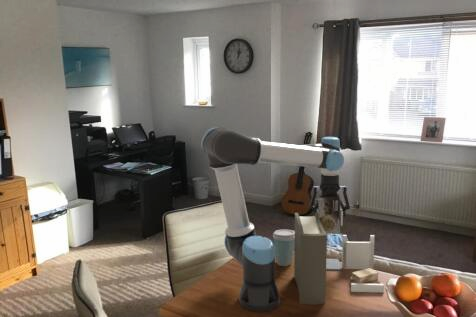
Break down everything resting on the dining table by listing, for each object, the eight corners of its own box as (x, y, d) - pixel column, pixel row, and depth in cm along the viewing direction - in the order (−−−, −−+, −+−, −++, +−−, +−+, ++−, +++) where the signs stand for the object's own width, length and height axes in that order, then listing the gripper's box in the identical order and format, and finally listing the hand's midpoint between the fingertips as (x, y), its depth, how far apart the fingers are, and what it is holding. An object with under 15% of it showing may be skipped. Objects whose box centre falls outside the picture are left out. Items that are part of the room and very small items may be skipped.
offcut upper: (359, 284, 159) (359, 277, 158) (351, 279, 163) (352, 272, 162) (377, 279, 162) (378, 272, 161) (369, 274, 166) (370, 267, 166)
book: (325, 305, 150) (327, 234, 144) (299, 305, 150) (300, 234, 144) (316, 276, 171) (318, 212, 165) (294, 276, 171) (294, 212, 165)
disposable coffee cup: (269, 260, 187) (268, 228, 184) (290, 256, 190) (290, 225, 187) (278, 270, 177) (278, 237, 174) (300, 266, 180) (301, 234, 177)
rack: (350, 291, 158) (351, 255, 155) (341, 267, 178) (342, 234, 175) (384, 292, 157) (386, 255, 154) (372, 268, 177) (373, 235, 174)
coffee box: (339, 229, 180) (340, 193, 177) (339, 234, 174) (340, 197, 171) (318, 227, 182) (319, 192, 179) (317, 233, 176) (318, 196, 173)
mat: (317, 269, 176) (317, 268, 176) (315, 259, 186) (315, 258, 186) (341, 270, 176) (341, 269, 175) (338, 260, 185) (338, 258, 185)
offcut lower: (354, 290, 160) (354, 283, 159) (349, 283, 165) (350, 277, 164) (379, 288, 161) (379, 281, 160) (374, 282, 166) (374, 275, 165)
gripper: (304, 176, 170) (303, 227, 175) (358, 175, 168) (357, 227, 173) (302, 171, 178) (302, 221, 182) (355, 171, 175) (353, 221, 180)
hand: (329, 224), depth 177 cm, fingers closed on coffee box, 9 cm apart
